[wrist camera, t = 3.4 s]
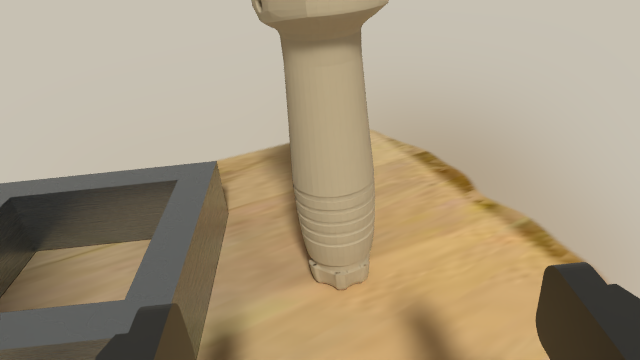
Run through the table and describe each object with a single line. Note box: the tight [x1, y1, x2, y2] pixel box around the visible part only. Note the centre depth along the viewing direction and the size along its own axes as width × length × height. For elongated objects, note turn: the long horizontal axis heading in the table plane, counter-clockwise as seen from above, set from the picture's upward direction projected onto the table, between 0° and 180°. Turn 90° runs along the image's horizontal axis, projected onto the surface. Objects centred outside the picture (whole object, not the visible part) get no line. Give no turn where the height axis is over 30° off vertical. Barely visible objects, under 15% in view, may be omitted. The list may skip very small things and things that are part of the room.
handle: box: [252, 0, 389, 290], centre depth 21 cm, size 5×6×15 cm
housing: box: [0, 161, 228, 360], centre depth 24 cm, size 14×14×4 cm
